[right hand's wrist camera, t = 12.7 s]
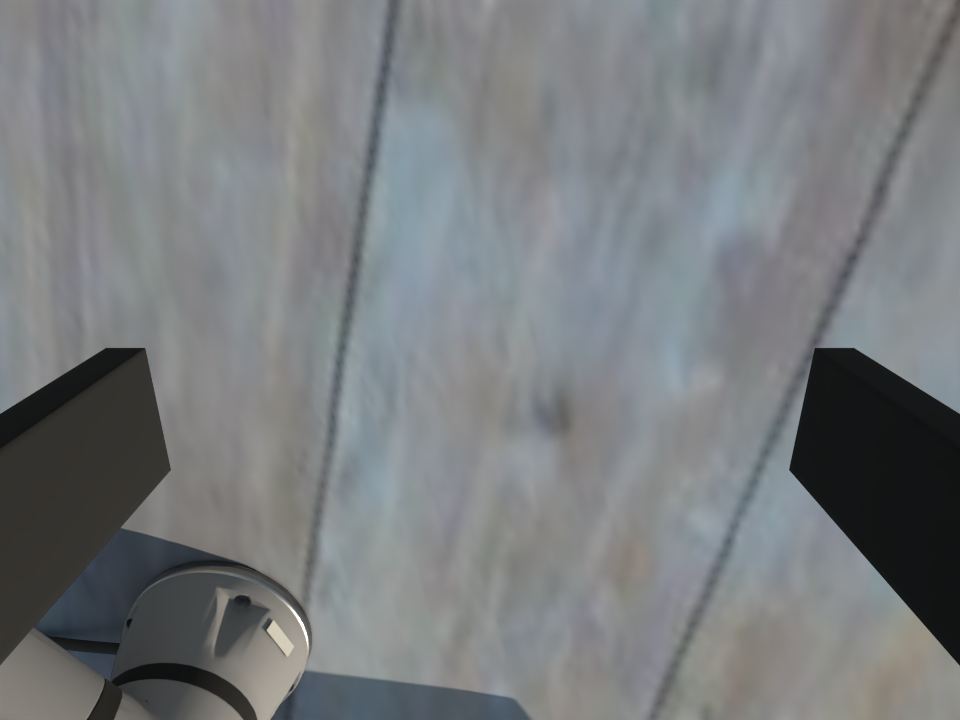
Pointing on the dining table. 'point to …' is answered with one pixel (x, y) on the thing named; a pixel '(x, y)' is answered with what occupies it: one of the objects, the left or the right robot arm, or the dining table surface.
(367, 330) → the dining table surface
